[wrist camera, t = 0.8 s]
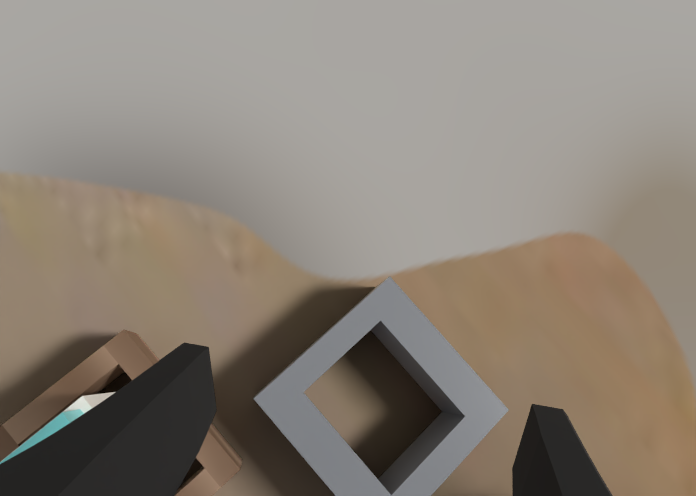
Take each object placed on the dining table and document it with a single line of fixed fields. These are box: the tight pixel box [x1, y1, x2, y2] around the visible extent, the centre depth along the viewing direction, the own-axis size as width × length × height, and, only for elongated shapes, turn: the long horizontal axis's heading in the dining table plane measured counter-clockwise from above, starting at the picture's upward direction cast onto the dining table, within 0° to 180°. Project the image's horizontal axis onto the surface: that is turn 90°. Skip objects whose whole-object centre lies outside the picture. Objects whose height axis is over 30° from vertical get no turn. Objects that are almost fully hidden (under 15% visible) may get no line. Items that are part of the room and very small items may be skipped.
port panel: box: [254, 276, 508, 496], centre depth 24 cm, size 8×8×3 cm
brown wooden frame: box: [0, 330, 242, 496], centre depth 22 cm, size 7×8×2 cm
